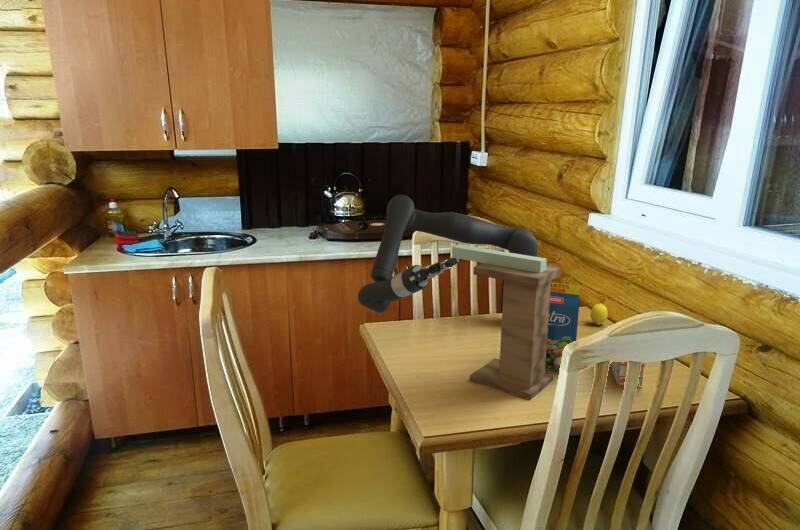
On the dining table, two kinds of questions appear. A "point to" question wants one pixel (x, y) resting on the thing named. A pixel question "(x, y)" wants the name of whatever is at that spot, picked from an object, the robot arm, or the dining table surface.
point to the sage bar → (500, 258)
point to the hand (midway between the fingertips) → (449, 262)
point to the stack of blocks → (623, 372)
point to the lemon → (599, 314)
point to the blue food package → (561, 322)
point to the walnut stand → (520, 331)
